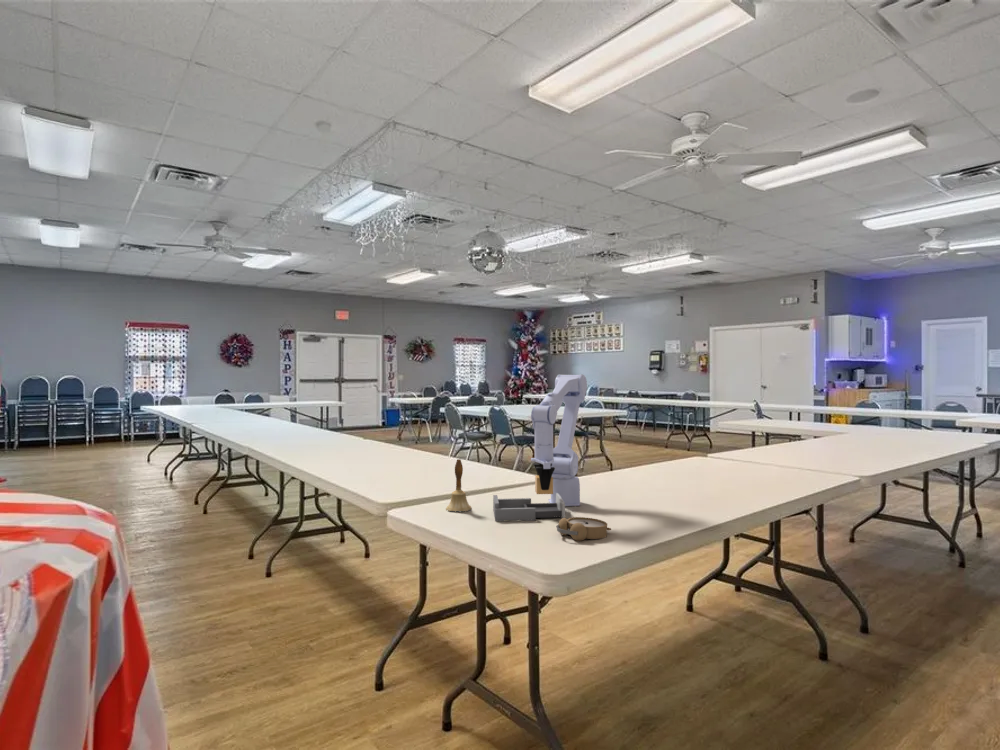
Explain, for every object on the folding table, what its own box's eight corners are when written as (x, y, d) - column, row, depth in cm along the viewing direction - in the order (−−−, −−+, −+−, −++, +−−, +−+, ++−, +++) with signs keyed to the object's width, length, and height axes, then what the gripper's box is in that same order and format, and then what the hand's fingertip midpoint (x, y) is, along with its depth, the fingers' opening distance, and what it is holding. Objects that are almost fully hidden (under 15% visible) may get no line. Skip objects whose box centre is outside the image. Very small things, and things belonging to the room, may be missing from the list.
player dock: (530, 509, 181) (530, 493, 181) (535, 520, 168) (535, 503, 168) (493, 509, 180) (493, 494, 180) (495, 521, 167) (494, 504, 167)
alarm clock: (617, 525, 153) (575, 524, 145) (614, 543, 153) (572, 543, 145) (589, 516, 162) (548, 514, 154) (586, 533, 162) (545, 532, 154)
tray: (558, 507, 181) (558, 493, 181) (565, 518, 169) (565, 503, 168) (522, 508, 181) (522, 493, 181) (527, 519, 168) (526, 504, 168)
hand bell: (447, 505, 186) (447, 457, 186) (472, 505, 186) (472, 457, 185) (444, 512, 178) (443, 462, 177) (470, 512, 178) (470, 461, 177)
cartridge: (551, 491, 177) (551, 475, 177) (553, 493, 173) (553, 477, 173) (535, 491, 176) (535, 475, 176) (536, 494, 172) (536, 477, 172)
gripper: (528, 441, 181) (528, 483, 182) (533, 447, 167) (533, 493, 167) (550, 440, 182) (550, 482, 182) (557, 447, 167) (557, 493, 167)
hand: (544, 488), depth 175 cm, fingers closed on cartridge, 4 cm apart
